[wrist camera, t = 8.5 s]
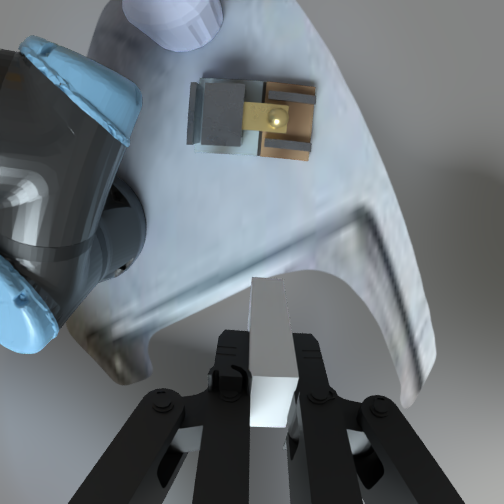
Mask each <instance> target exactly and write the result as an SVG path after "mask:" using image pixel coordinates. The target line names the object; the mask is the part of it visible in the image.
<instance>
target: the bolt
mask: <svg viewBox="0 0 504 504" xmlns="http://www.w3.org/2000/svg"><path fill="white" fill-rule="evenodd" d="M288 109H289V106H287V105H277V104H267V103H255V102H244V109H243V121H242V130H255V131H267V132H277V133H286V131H287V123H288V120H289V115H288Z"/></svg>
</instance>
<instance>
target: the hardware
mask: <svg viewBox="0 0 504 504" xmlns="http://www.w3.org/2000/svg"><path fill="white" fill-rule="evenodd" d="M246 91H247V89H246V85H245V84H237V83H208V82H205V93H204V105H203V92H204V88H203V87H202V86H201V85H199V84H198V83H197V82H191V86H190V98H189V111H188V127H187V144H188V145H193V144H196V143H200V134H201V119H202V105H203V119H202V134H201V145H215V146H233V147H241V146H242V140H243V136H241V134H242V121H243V109H244V98H246ZM268 100H277V101H287V102H295V103H303V104H310V105H315V104H316V96H313V95H305V94H298V93H290V92H281V91H271V90H269V93H268ZM311 145H312V143H307V142H298V141H289V140H280V139H269V138H265V139H264V147H270V148H280V149H290V150H299V151H308V152H311Z"/></svg>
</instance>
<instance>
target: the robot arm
mask: <svg viewBox="0 0 504 504" xmlns="http://www.w3.org/2000/svg"><path fill="white" fill-rule="evenodd" d="M19 50H20V52H15V51H9V50H4V49H0V344H1V345H3V346H4V347H6V348H8V349H10V350H12V351H15V352H18V353H21V354H23V353H24V354H25V353H27V354H33V353H37V352H39V351H40V350H41V349H43V348H44V347H45V346H46V345H47V343H48V342H49V341H50V340H51V339H53V338H55V337H56V336H57V335H58V332H59V330H60V328H61V327H62V326H63V325H64V323H65V322H66V321H67V320H68V318H69V317H70V316H71V315H72V313H73V312H74V311H75V310H76V309H77V307H78V306H79V305H80V304H81V302H82V301H83V300H84V299H85V298H86V297H87V295H88V294H89V293H90V292H91V291H92V289H93V288H94V287H95V286H96V285H97V283H100V282H103V281H106V280H109V279H112V278H114V277H117V276H119V275H121V274H122V273H123V272H125V271H126V270H127V269H128V268H129V267H130V266H131V265H132V264H133V263H134V261H135V260H136V259H137V258H138V256H139V254H140V253H141V251H142V248H143V245H144V242H145V236H146V222H145V216H144V212H143V209H142V206H141V204H140V202H139V200H138V198H137V196H136V195H135V193H134V192H133V190H132V189H131V188H130V187H129V186H128V185H127V184H126V183H125V182H124V181H123V180H121V179H120V178H118V177H117V176H115V175H116V172H117V170H118V167H119V165H120V162H121V160H122V157H123V155H124V152H125V150H126V147H129V145H130V136H131V133H132V131H133V128H134V125H135V123H136V120H137V118H138V115H139V113H140V110H141V107H142V94H141V91H140V90H139V88H138V87H137V85H136V84H134V83H133V82H132V81H130V80H129V79H127V78H125V77H124V76H122V75H120V74H118V73H117V72H115V71H113V70H111V69H109V68H107V67H105V66H103V65H101V64H100V63H98V62H96V61H94V60H92V59H89V58H87V57H85V56H83V55H81V54H79V53H77V52H74V51H72V50H70V49H68V48H65V47H62V46H59V45H57V44H55V43H52V42H50V41H47V40H45V39H43V38H40V37H38V36H34V35H31V36H29V37H27V38H26V39H25V40H24V42H22V43H21V44H20V46H19ZM287 420H288V433H287V436H286V440H285V443H284V447H283V450H286V448H287V457H288V458H287V459H288V473H289V489H290V503H291V504H363V501H362V499H363V500H364V502H365V504H465V503H464V501H463V500H462V498H461V497H460V496H459V494H458V493H457V491H456V490H455V488H454V487H453V485H452V484H451V482H450V481H449V479H448V478H447V476H446V475H445V474H444V472H443V471H442V469H441V468H440V466H439V465H438V463H437V462H436V461H435V459H434V458H433V456H432V455H431V453H430V452H429V451H428V449H427V448H426V446H425V445H424V443H423V442H422V441H421V439H420V438H419V436H418V435H417V434H416V432H415V431H414V429H413V428H412V427H411V425H410V424H409V422H408V421H407V420H406V418H405V417H404V415H403V414H402V413H401V411H400V410H399V408H398V407H397V406H396V404H394V402H393V401H392V400H390V399H389V398H387V397H385V396H380V395H375V396H370V397H368V398H366V399H365V400H364V401H363V402H362V403H359V402H354V401H349V400H346V399H343V398H341V397H339V396H338V395H337V393H336V391H335V390H334V389H333V388H331V387H330V386H329V383H328V378H327V374H326V370H325V367H324V363H323V359H322V355H321V352H320V347H319V343H318V341H317V340H316V339H315V338H314V336H313V335H312V334H303V333H302V334H301V333H292V330H291V324H290V317H289V311H288V305H287V299H286V293H285V287H284V281H283V279H272V278H259V277H252V282H251V294H250V305H249V317H248V331H235V330H224V331H223V333H222V334H221V335H220V336H219V338H218V345H217V351H216V357H215V364H214V366H213V367H212V368H211V369H210V371H209V373H208V388H207V389H206V390H205V391H204V392H202V393H199V394H197V395H193V396H185V397H181V396H180V395H179V393H177V392H175V391H173V390H170V389H164V388H162V389H155V390H153V391H150V392H149V393H148V394H147V395H145V396H144V397H143V399H142V400H141V402H140V403H139V404H138V406H137V407H136V409H135V410H134V411H133V413H132V414H131V416H130V417H129V418H128V420H127V421H126V423H125V424H124V426H123V427H122V428H121V430H120V431H119V432H118V434H117V435H116V437H115V438H114V440H113V441H112V442H111V444H110V445H109V447H108V448H107V449H106V451H105V452H104V453H103V455H102V456H101V458H100V459H99V460H98V462H97V463H96V465H95V466H94V467H93V469H92V470H91V472H90V473H89V475H88V476H87V477H86V479H85V480H84V482H83V483H82V484H81V486H80V487H79V489H78V490H77V491H76V493H75V494H74V496H73V497H72V498H71V500H70V501H69V503H68V504H162V503H163V501H164V499H165V497H166V495H167V493H168V491H169V489H170V487H171V486H172V484H173V482H174V479H175V478H176V476H177V474H178V472H179V470H180V468H181V466H182V464H183V462H184V460H185V458H186V456H187V454H188V452H190V451H197V450H199V458H198V465H197V472H196V479H195V486H194V494H193V501H192V504H249V450H250V426H256V427H286V423H287Z"/></svg>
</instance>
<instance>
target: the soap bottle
mask: <svg viewBox="0 0 504 504" xmlns="http://www.w3.org/2000/svg"><path fill="white" fill-rule="evenodd" d="M122 7H123V12H124V14H125V16H126V18H127V20H128V21H129V22H130V23H131V24H133V25H134V26H135V27H137V28H138V29H139V30H141V31H142V32H143V33H145V34H146V35H147V36H148V37H150V38H151V39H152V40H153V41H155V42H156V43H157V44H159V45H160V46H161V47H163V48H164V49H167V50H171V51H174V52H186V51H191V50H194V49H197V48H200V47H202V46H204V45H205V44H206V43H208V42H209V41H211V40H212V39H213V38H214V37H215V35H216V34H217V33H218V31H219V30H220V27H221V24H222V21H223V14H222V7H221V4H220V1H219V0H122Z"/></svg>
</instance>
